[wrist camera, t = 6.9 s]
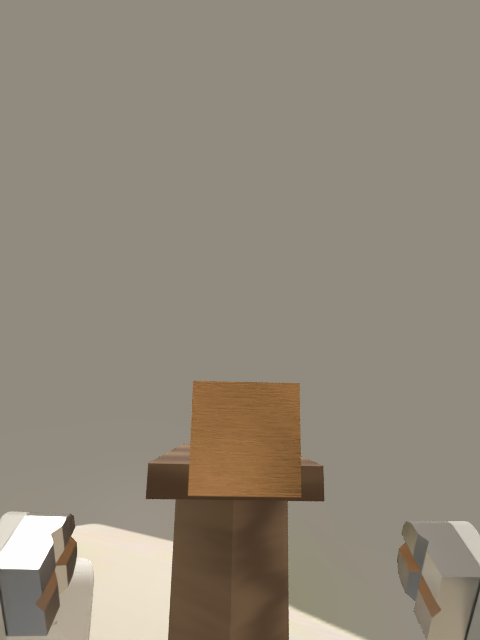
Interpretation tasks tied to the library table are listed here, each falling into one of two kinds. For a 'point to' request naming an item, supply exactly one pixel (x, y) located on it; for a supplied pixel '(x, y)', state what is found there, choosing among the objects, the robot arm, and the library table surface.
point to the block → (245, 440)
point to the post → (228, 555)
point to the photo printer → (72, 607)
